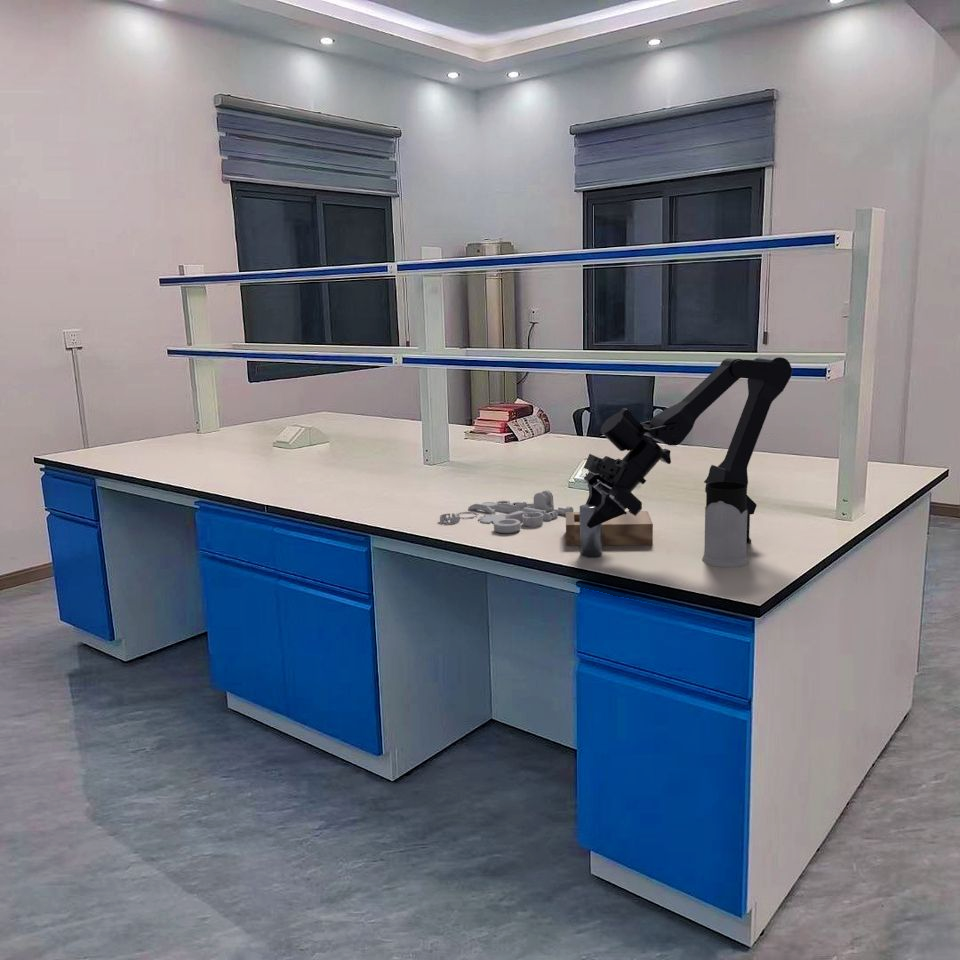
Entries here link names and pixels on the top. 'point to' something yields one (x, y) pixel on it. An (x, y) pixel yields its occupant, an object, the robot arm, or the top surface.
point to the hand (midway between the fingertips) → (584, 523)
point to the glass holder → (725, 524)
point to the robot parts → (514, 513)
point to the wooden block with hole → (615, 529)
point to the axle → (589, 533)
